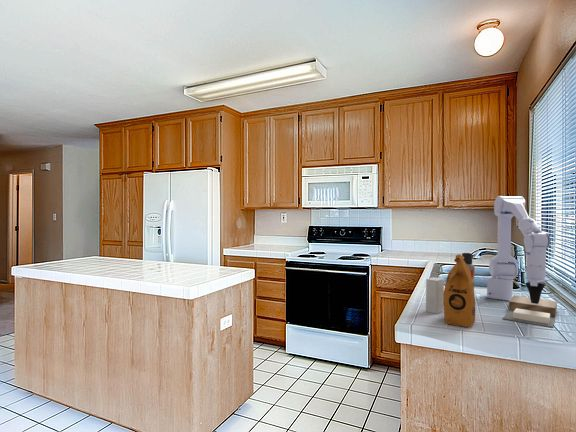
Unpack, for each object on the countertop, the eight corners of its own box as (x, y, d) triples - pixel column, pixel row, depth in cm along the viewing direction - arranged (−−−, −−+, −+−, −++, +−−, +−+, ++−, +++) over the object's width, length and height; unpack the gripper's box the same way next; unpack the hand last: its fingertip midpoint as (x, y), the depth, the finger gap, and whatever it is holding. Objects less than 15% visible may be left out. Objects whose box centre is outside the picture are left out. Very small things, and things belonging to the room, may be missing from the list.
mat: (502, 319, 125) (502, 318, 125) (508, 310, 136) (508, 309, 136) (553, 327, 116) (553, 326, 116) (555, 318, 127) (555, 317, 127)
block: (516, 308, 131) (515, 313, 131) (513, 312, 125) (513, 317, 126) (550, 313, 125) (550, 319, 125) (548, 317, 119) (548, 323, 119)
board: (508, 310, 137) (509, 301, 136) (513, 304, 147) (513, 295, 147) (555, 318, 128) (555, 308, 128) (556, 310, 138) (556, 301, 138)
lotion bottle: (458, 301, 149) (460, 252, 149) (457, 298, 154) (459, 251, 154) (474, 303, 147) (475, 253, 147) (472, 300, 152) (474, 252, 152)
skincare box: (432, 308, 137) (433, 277, 137) (443, 311, 134) (444, 278, 134) (425, 311, 133) (425, 278, 133) (436, 314, 130) (437, 280, 130)
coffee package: (439, 324, 118) (441, 256, 118) (444, 315, 129) (446, 253, 129) (473, 329, 113) (475, 259, 113) (476, 319, 124) (477, 255, 124)
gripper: (548, 269, 123) (547, 309, 123) (550, 264, 135) (549, 301, 135) (523, 266, 128) (522, 305, 128) (527, 262, 139) (526, 298, 139)
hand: (534, 303), depth 132 cm, fingers closed
